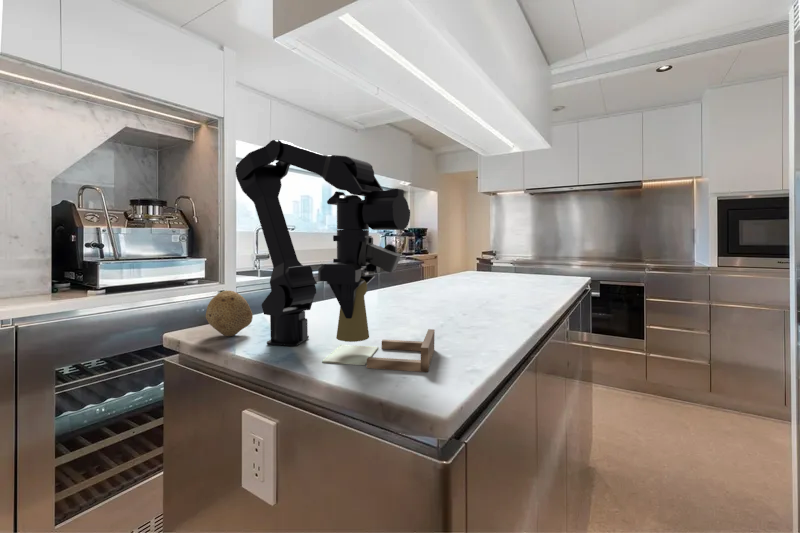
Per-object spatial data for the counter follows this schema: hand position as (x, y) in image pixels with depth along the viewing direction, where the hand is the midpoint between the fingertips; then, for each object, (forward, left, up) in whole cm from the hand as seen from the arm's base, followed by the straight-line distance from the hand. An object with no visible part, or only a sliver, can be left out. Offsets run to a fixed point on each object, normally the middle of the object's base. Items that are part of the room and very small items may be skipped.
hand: (352, 315), depth 69 cm
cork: (0, 0, -4) cm, 4 cm away
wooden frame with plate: (+6, 0, -7) cm, 9 cm away
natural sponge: (-31, +8, -8) cm, 33 cm away
